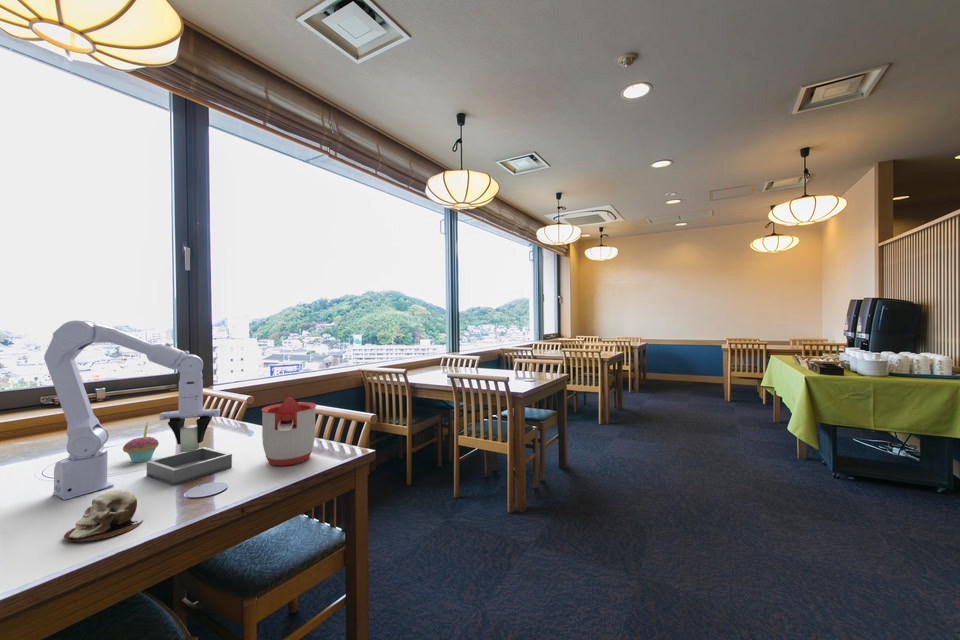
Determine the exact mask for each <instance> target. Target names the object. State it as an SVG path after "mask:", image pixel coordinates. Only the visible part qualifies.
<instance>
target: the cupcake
mask: <svg viewBox="0 0 960 640" xmlns="http://www.w3.org/2000/svg"><path fill="white" fill-rule="evenodd" d="M148 427H149V426H148V422H146V423H145V425H144V430H143V431H144V432H143V436H142V437H136V438H133V439H131V440H129V441H127V443H125V444H124V445H123V447H122V450H123V452H124V453H127V454H128V456H129V459H130V460H131V462H132V463H144V462H147V461H151V459H152V458H153V455H154V452H155V450H156V448H158V447H159V444H160V442H159V441H158V439H156V438H155V437H151V436H147V433H148Z"/></svg>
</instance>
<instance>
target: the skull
mask: <svg viewBox="0 0 960 640" xmlns="http://www.w3.org/2000/svg"><path fill="white" fill-rule="evenodd" d="M137 508H138V499H137V497H136V496H135V494H132V493H130V492H128V491H125V490H121V489H111V490H107V491H105V492H103V493H101V494H99V495H97V496H96V497H94V498H93V499H92V500H91V505H90V506H88V507H87V508H86V509H85V511H84V513H83V514H82V517H80V518H79V519H78V520H77V521H76V522H75V527H73V528H72V529H70V530H68V531H67V532H65V533H64V535H63V538H64V539H65V540H66V541H67V542H70V543H71V542H72V543H73V542H74V543H76V542H88V541H89V542H91V541H97V540H100V541H101V540H104V539H105V538H106V539H107V538H108V539H109V538H112V537H116V536H117V535H121V534H123V533H127V532H129V531H131V530H133V529H136V527H138V526H140V525H141V524H142V523H143V522H144V519H142V520H141V521H139V522H138V520H135V521H133V520H132V519H133V517H134V515H135V514H136V512H137Z"/></svg>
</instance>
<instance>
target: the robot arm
mask: <svg viewBox="0 0 960 640" xmlns="http://www.w3.org/2000/svg"><path fill="white" fill-rule="evenodd" d="M97 343H98V344H99V343H100V344H102V343H103V344H105V343H106V344H107V343H109V344H110V343H112V344H115V345H117V346H120V347H123V348H126V349H129V350H132V351H135V352H138V353H141V354H144V355H145V356H146V357H147V360H148V361H149V362H150V363H151V362H152V363H154V364H157V365H159V366H162V367H165V368H167V369H171V370H177V371H178V373H179V381H178V407H177V408H178V410H175V411H163V412H161V413H159V421H165V420H169V421H167V425H168V426H169V427H170V429H171V431H172V432H173V434H174V436H175V437H174V438H175V440H176V444H177V445H179V446H180V428H182V427H184V426H185V421H186V419H194V418H197V419H196V421H195V422H196V425H197V428H198V443H199V444H200V443H203V441H204V437H205V434H206V431H207V428H208V426H209V424H210V423H211V420H212V419H213V418H218V417H219V416H221V409H220V408H214V409H212V408H203V407H204V406H203V405H204V403H203V402H204V401H203V400H204V399H203V397H204V379H203V372H202V371H203V368H204V361H203V359H202V358H201V357H199V356H198V355H197V354H193V353H190V351H189V350H181V349H180V348H176V347H173V346H172V343H170V342H166V343H164V342H158V343H157V342H156V343H151V342H148V341H146V340H143V339H141V338H140V337H136V336H134V335H131V334H129V333H127V332H125V331H121V330H119V329H117V328H114V327H111V326H107V325H103V324H101V323H99V324H97V323H96V322H93V321H89V320H70V321H67V322H65V323H63V324H62V325H60V326H59V327H58V328H57V329H56V330H55V331H54V332H52V338H51V341H50V343H49V345H48V346H47V348H46V351H45V352H44V355H43V356H44V363H45V364H46V368H47V370H48V373H49V376H50V380H52V381H51V382H52V384H53V387H54V389H55V392H56V395H57V398H58V400H59V403H60V407H61V410H62V412H63V415H64V417H65V420H66V423H67V429H66V435H67V439H68V440H67V444H66V452H67V453H68V458H66V459H64V460H61V461H57V462H55V465H54V468H53V469H54V470H53V492H52V495H55V496H56V497H58V498H60V499H63V500H68V499H69V500H70V499H73V498H77V497H79V496H83V495H86V494H90V493H93V492H94V493H95V492H98V491H100V490H105V489H107V488H108V489H109V488H111V487H114V486H115V484H114V483H113V482H110V481H108V449H107V448H106V446H104V445H105V444H106V443H107V442H108V440H109V436H110V435H109V431H108V430H107V428H105V427H104V426H102V425H101V422H100V420H99V418H97V416H96V415H95V414H94V411H93V408H92V405H91V403H90V402H91V401H90V399H89V396H88V393H87V391H86V388H85V385H84V382H83V379H82V376H81V374H80V371H79V368H78V366H77V365H78V364H77V363H76V358H77V357H78V356H79V355H80V354H81V352H82V351H83V350H84V349H85V348H86V347H89V346H90V345H92V344H97Z"/></svg>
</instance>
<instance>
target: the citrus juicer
mask: <svg viewBox="0 0 960 640" xmlns="http://www.w3.org/2000/svg"><path fill="white" fill-rule="evenodd" d="M316 407H317V404H316V403H314V402H307V401H305V402H304V401H296V400H295V399H294V398H293V397H291V396H289V397H287V398H286V399H285V400H284V401H283V402H282V403H275V404H271V405H268V406H265V407H263V408H261V412H262V420H261V421H262V423H261V424H262V428H261V429H262V432H261V433H262V435H261V439H262V447H263V450H264V451H263V452H264V454H265V458H266V460H267V463H268V464H270V465H272V466H273V465H278V466H281V467H282V466H283V467H284V466H290V465H291V466H292V465H296V464H295V463H299V462H302V461H303V462H305V461H307V460H309V458H310V457H311V454H312V452H313V447H314V443H315V439H316ZM306 459H307V460H306ZM304 460H305V461H304ZM303 462H302V463H303ZM299 464H300V463H299ZM278 466H277V467H278Z"/></svg>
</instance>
